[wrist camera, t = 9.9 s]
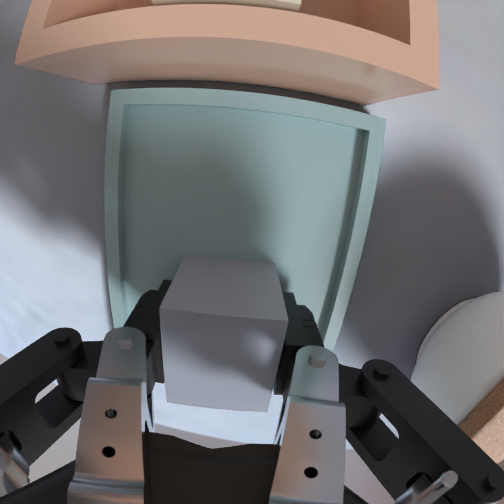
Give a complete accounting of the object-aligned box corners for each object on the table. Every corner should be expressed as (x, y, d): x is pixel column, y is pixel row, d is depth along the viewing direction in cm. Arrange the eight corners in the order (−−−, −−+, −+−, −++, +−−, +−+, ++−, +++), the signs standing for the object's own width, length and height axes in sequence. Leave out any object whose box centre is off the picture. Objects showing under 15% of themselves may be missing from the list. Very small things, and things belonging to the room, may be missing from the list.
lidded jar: (353, 340, 14) (425, 506, 5) (502, 224, 12) (626, 300, 3) (405, 420, 17) (447, 519, 8) (513, 337, 15) (578, 411, 6)
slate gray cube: (275, 263, 12) (288, 320, 8) (261, 344, 13) (266, 411, 9) (185, 254, 11) (159, 307, 8) (184, 336, 13) (166, 402, 9)
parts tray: (375, 120, 10) (386, 119, 9) (318, 367, 14) (322, 380, 13) (121, 93, 10) (111, 89, 9) (126, 348, 14) (119, 360, 13)
